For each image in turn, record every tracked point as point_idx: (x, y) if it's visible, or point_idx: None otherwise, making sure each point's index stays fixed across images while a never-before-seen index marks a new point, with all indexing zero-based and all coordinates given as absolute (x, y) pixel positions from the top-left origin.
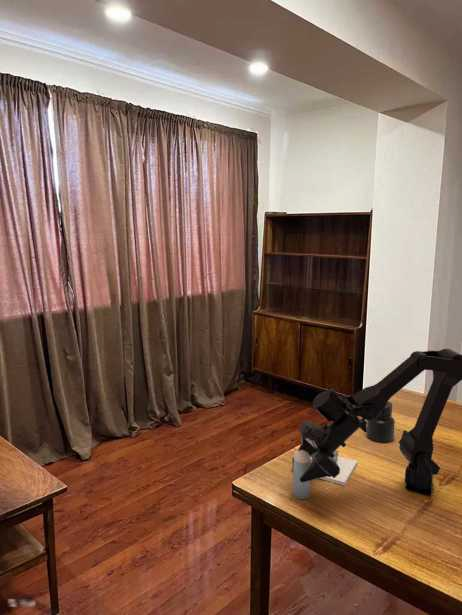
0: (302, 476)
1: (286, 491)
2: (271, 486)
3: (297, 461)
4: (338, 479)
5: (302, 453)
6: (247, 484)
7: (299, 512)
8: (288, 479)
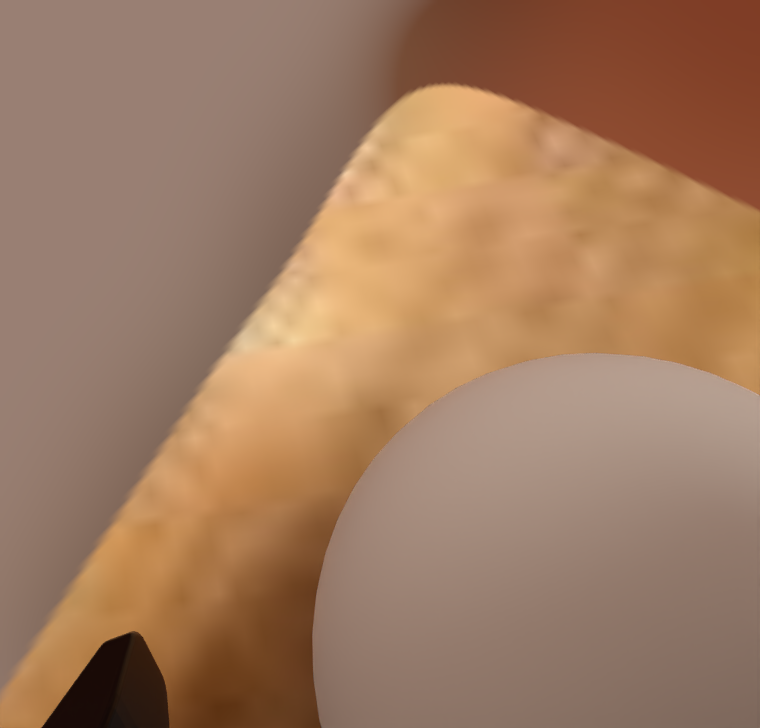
0: (67, 709)
1: None
2: (484, 311)
3: (348, 502)
4: None
5: (561, 664)
6: (447, 127)
7: None
8: None
